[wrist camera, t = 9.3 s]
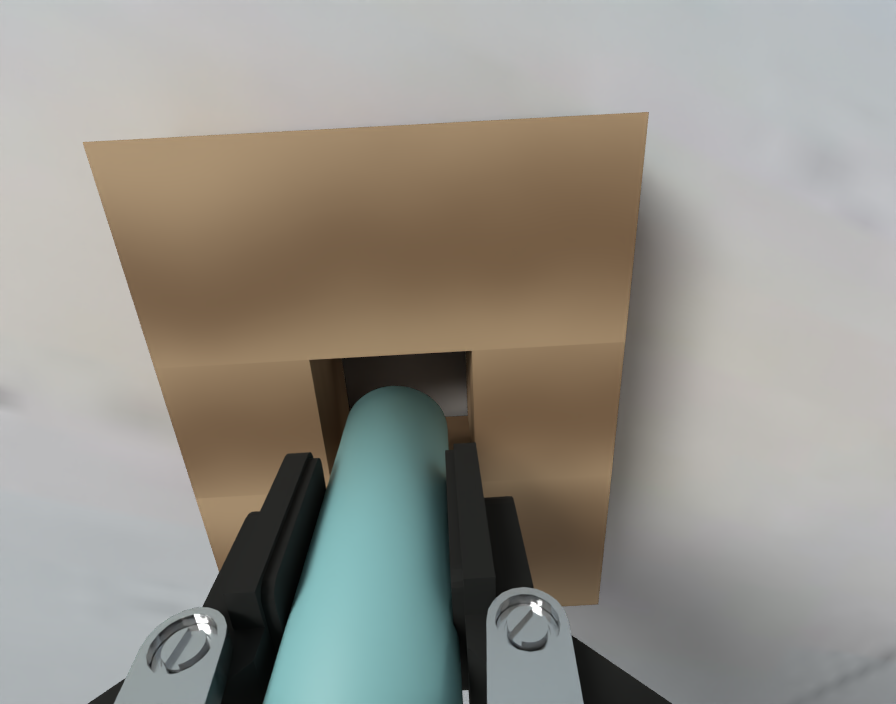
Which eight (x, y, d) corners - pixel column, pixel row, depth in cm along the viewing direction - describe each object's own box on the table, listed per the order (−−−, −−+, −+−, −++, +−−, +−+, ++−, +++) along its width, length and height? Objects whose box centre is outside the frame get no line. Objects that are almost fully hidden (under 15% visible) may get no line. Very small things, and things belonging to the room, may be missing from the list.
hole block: (167, 139, 15) (82, 142, 11) (596, 116, 15) (648, 111, 12) (269, 542, 22) (236, 625, 18) (570, 524, 22) (598, 604, 18)
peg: (339, 388, 14) (173, 849, 5) (444, 382, 14) (469, 830, 5) (352, 475, 15) (237, 975, 6) (449, 469, 15) (477, 958, 6)
